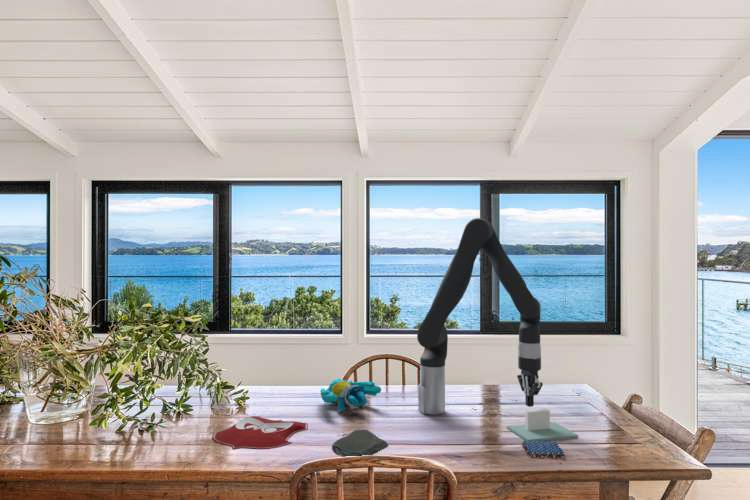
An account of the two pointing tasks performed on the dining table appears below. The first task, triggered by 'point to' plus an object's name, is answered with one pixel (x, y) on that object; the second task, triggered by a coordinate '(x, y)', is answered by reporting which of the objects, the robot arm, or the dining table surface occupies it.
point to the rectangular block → (537, 419)
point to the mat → (543, 433)
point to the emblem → (258, 433)
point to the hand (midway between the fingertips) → (529, 405)
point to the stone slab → (359, 444)
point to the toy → (349, 393)
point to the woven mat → (542, 449)
